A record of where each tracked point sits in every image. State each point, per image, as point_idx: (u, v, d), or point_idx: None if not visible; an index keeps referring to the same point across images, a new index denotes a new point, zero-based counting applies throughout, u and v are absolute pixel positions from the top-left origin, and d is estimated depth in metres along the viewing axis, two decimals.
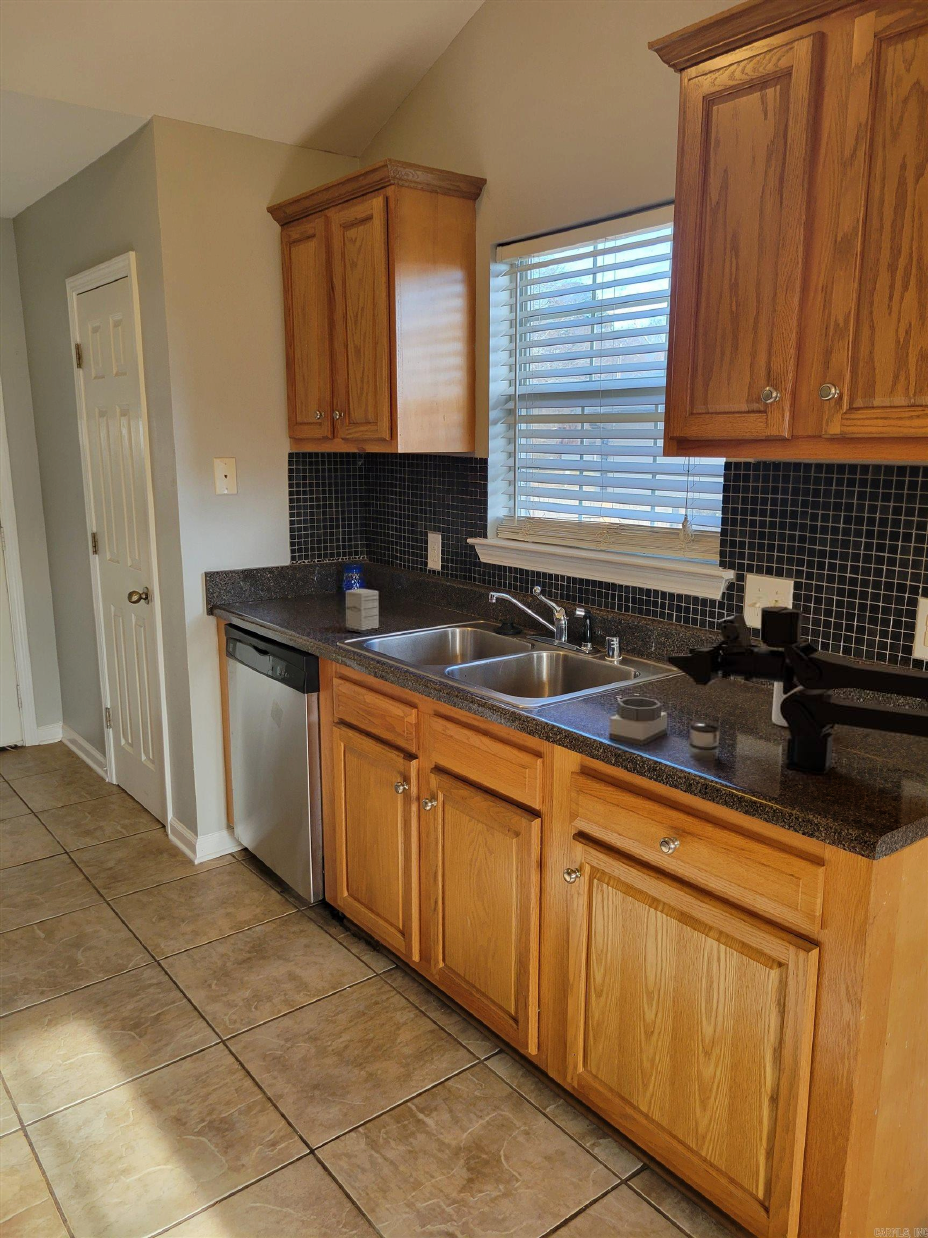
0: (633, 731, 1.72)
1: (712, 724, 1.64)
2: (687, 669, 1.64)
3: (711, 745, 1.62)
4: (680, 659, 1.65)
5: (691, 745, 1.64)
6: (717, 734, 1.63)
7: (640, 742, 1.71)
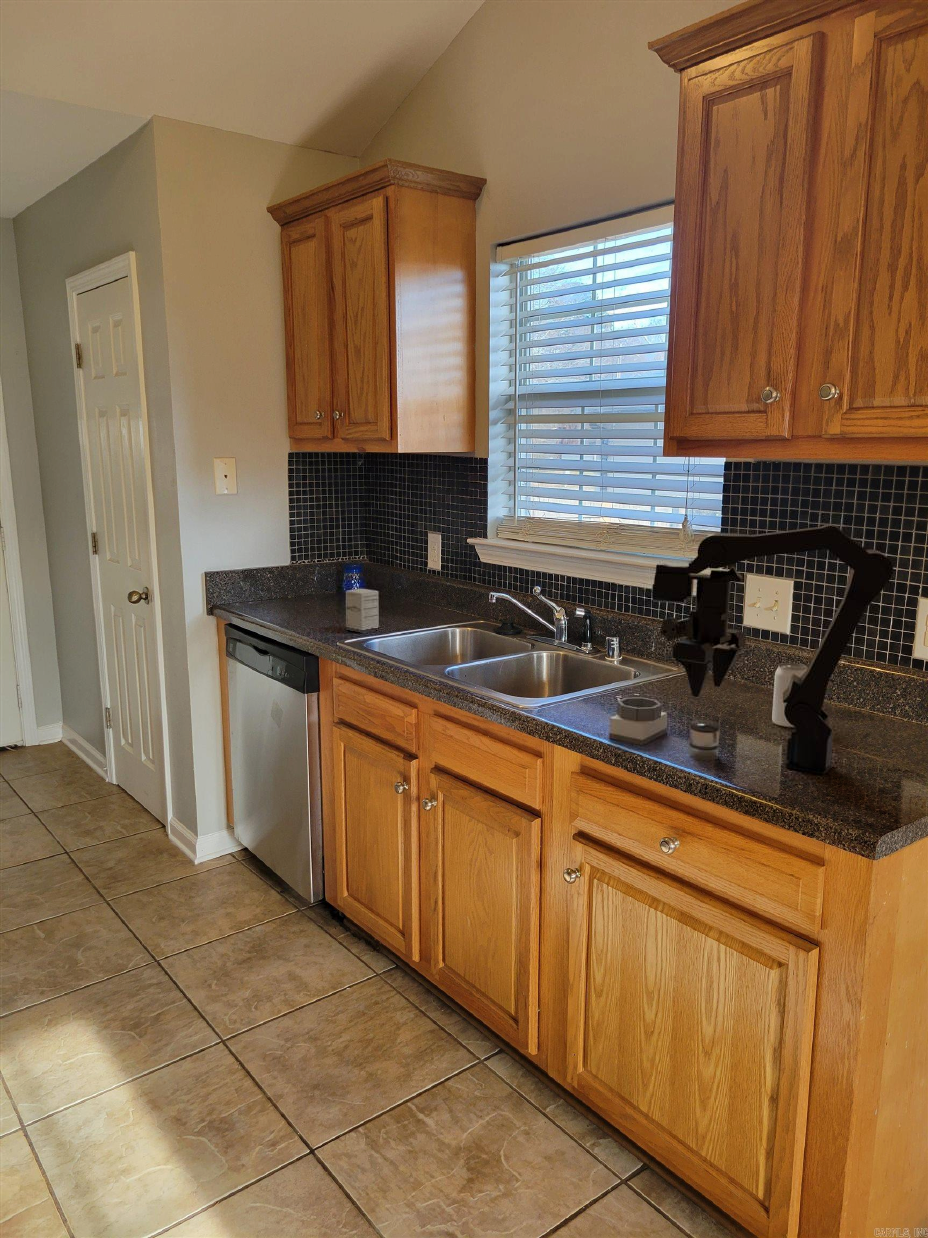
0: (633, 731, 1.72)
1: (712, 724, 1.63)
2: (700, 674, 1.57)
3: (711, 745, 1.62)
4: (691, 681, 1.58)
5: (691, 745, 1.64)
6: (717, 734, 1.63)
7: (640, 742, 1.71)
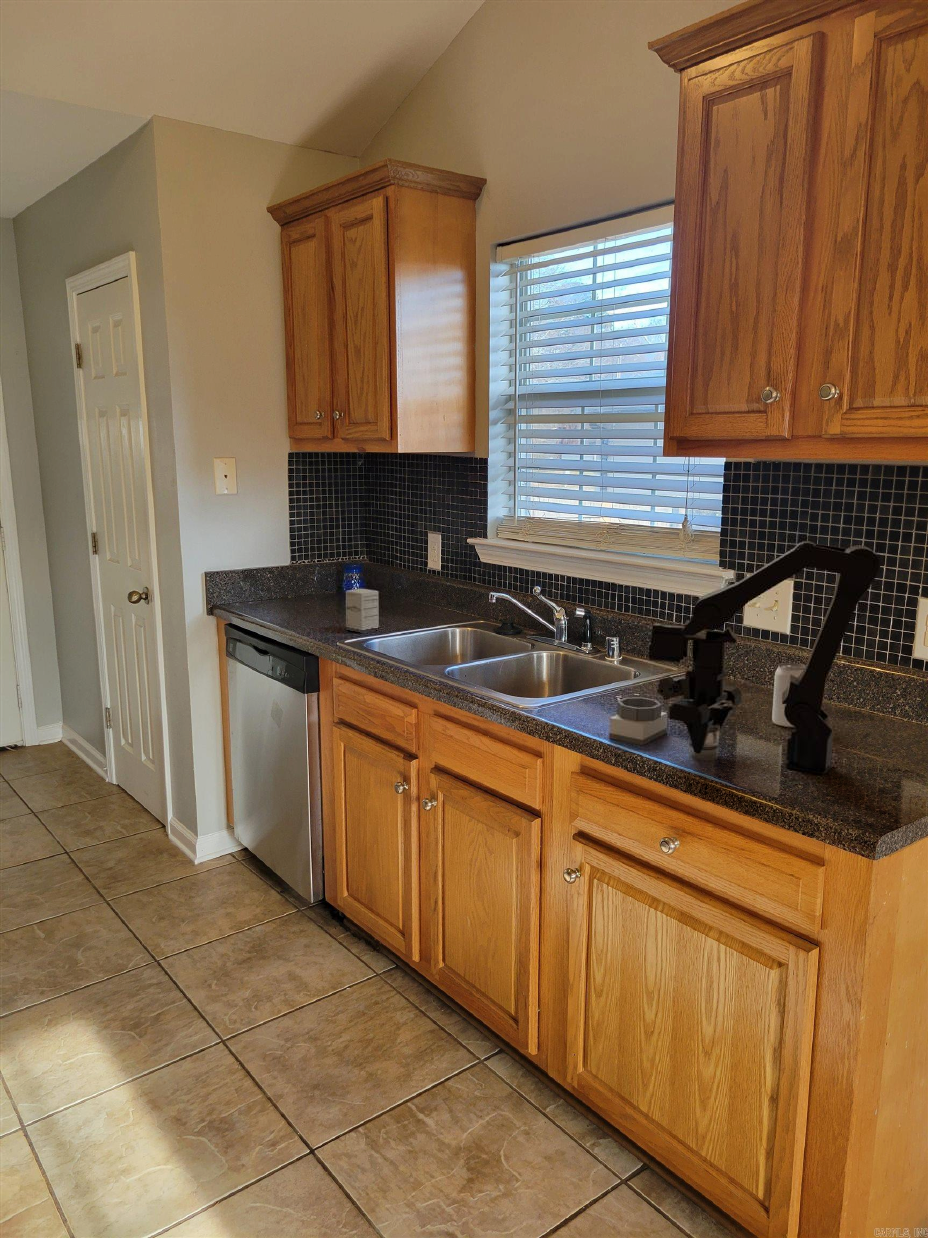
0: (633, 731, 1.72)
1: (712, 724, 1.63)
2: (701, 732, 1.60)
3: (711, 745, 1.62)
4: (693, 738, 1.62)
5: (691, 745, 1.64)
6: (717, 734, 1.63)
7: (640, 742, 1.71)
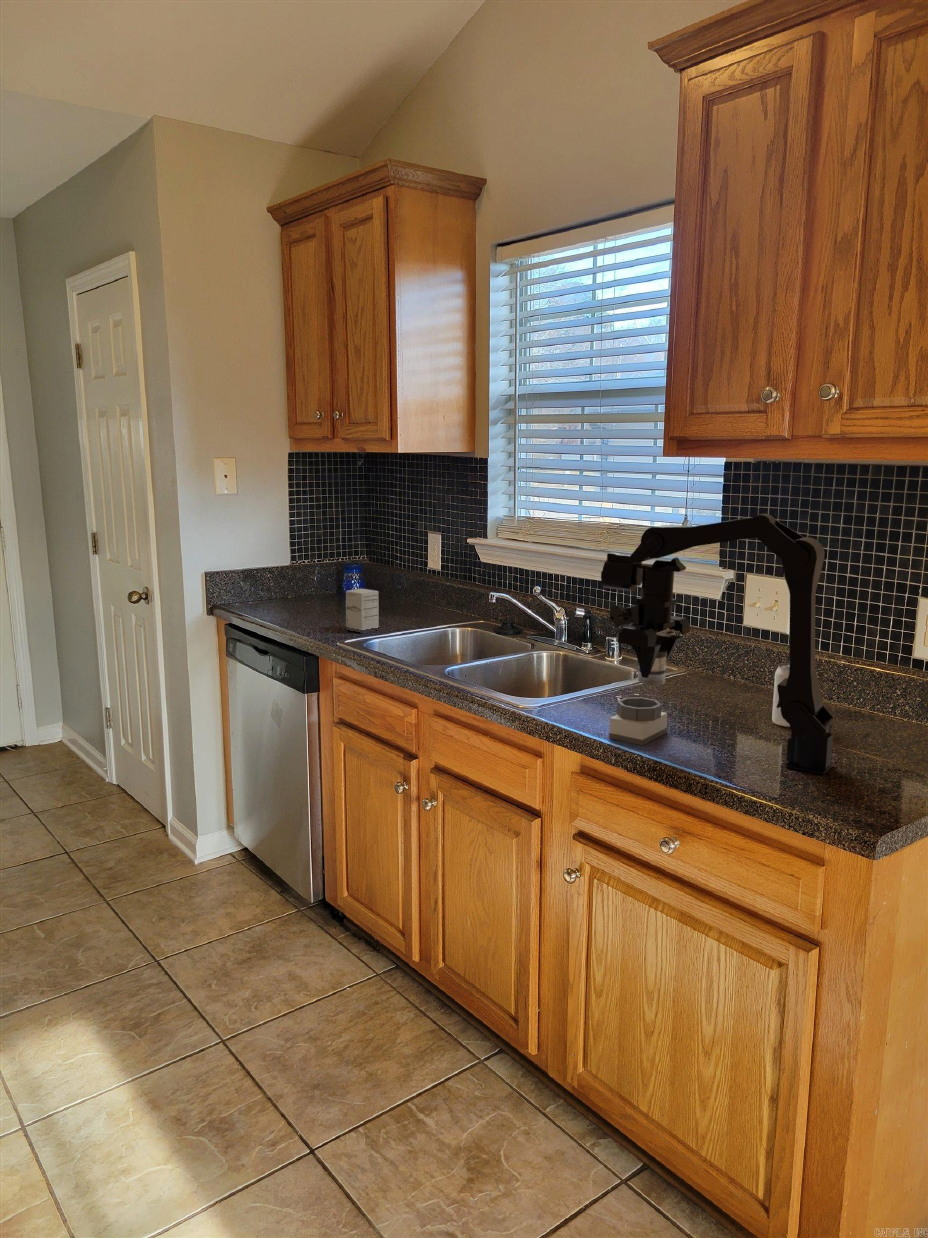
0: (633, 731, 1.72)
1: (659, 650, 1.71)
2: (648, 656, 1.67)
3: (658, 670, 1.70)
4: (641, 663, 1.69)
5: (639, 670, 1.71)
6: (664, 659, 1.70)
7: (640, 742, 1.71)
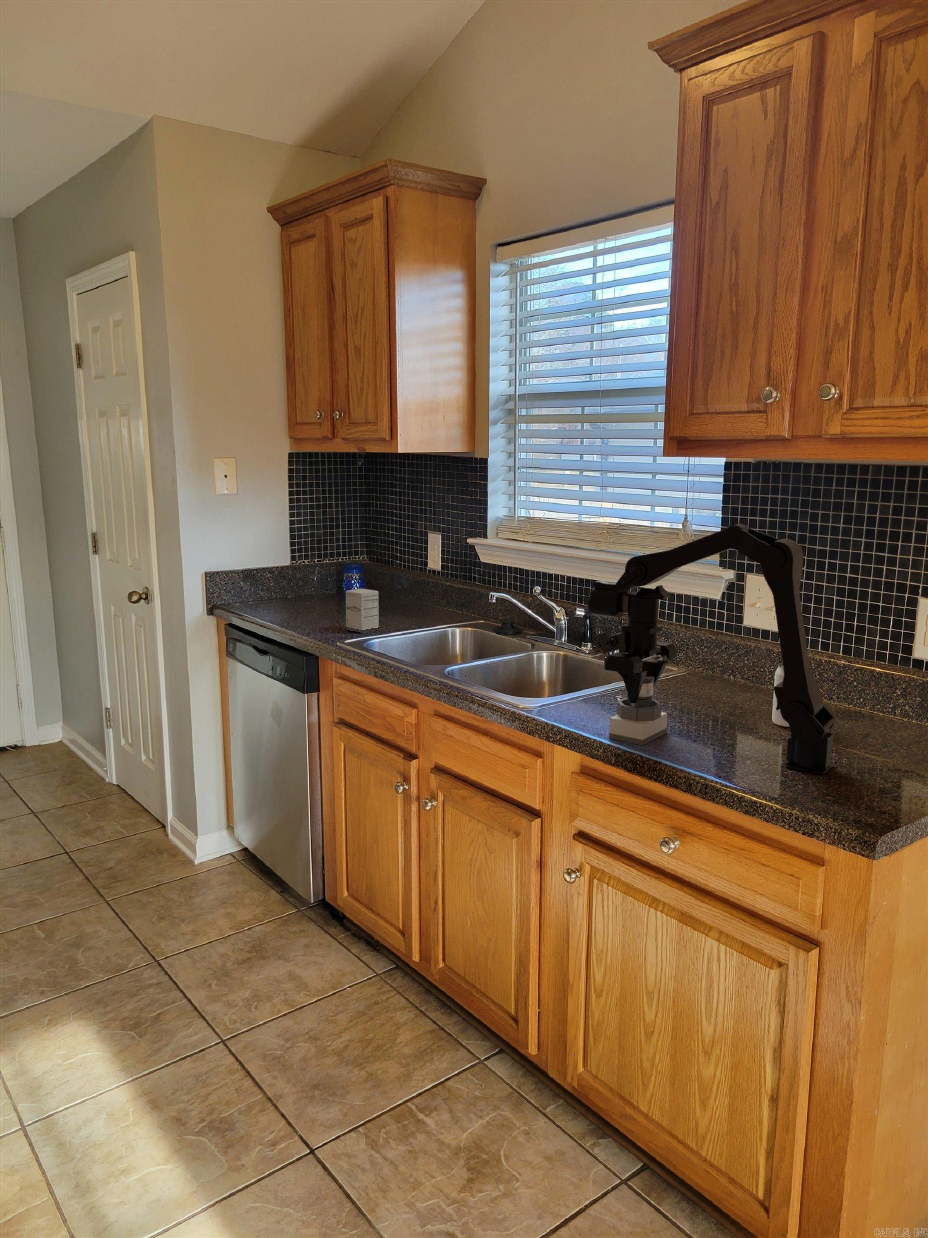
0: (633, 731, 1.72)
1: (646, 676, 1.74)
2: (635, 682, 1.71)
3: (645, 695, 1.73)
4: (628, 688, 1.72)
5: (627, 696, 1.75)
6: (651, 685, 1.73)
7: (640, 742, 1.71)
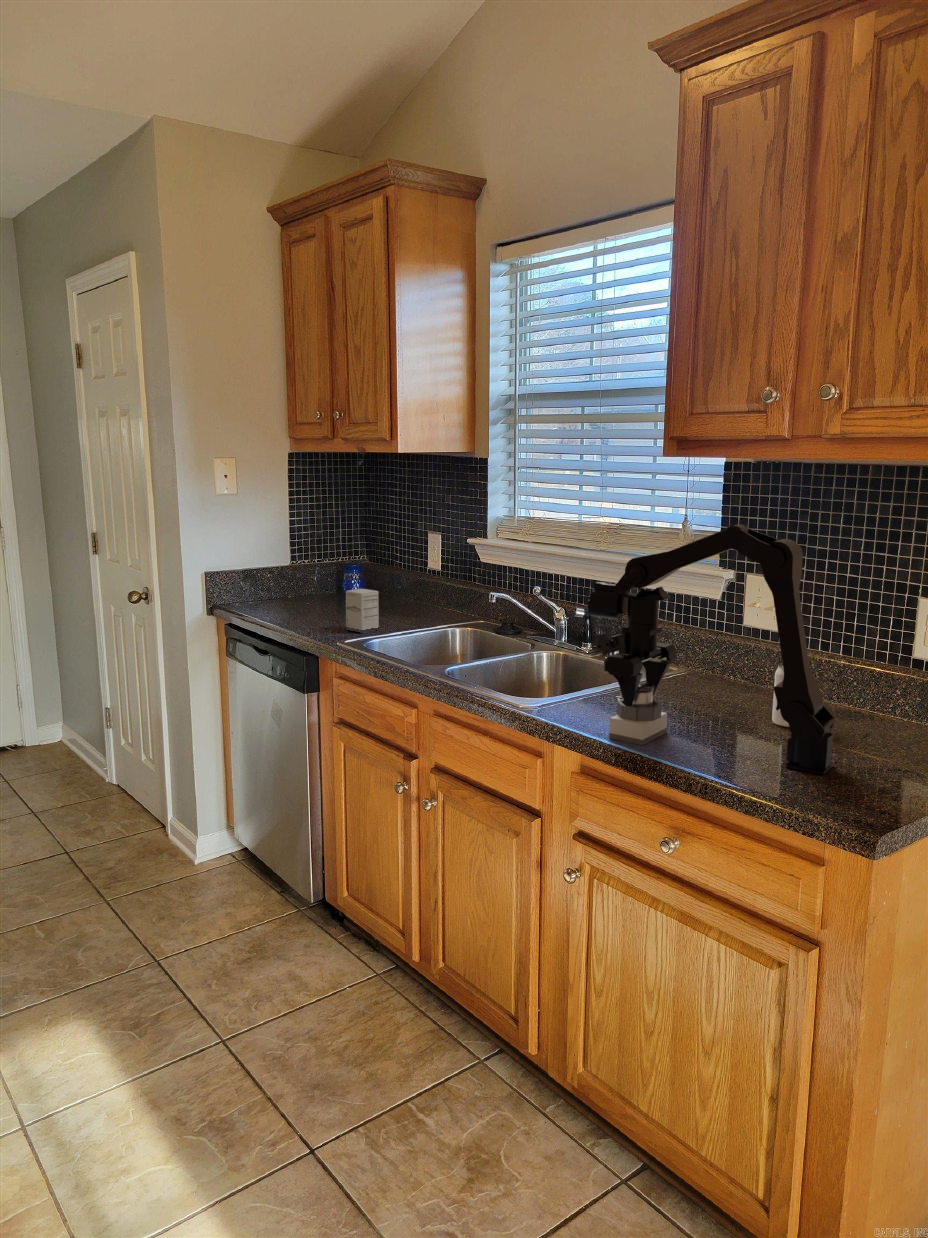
0: (633, 731, 1.72)
1: (646, 685, 1.75)
2: (631, 685, 1.70)
3: (645, 704, 1.73)
4: (624, 692, 1.71)
5: None
6: (651, 694, 1.74)
7: (640, 742, 1.71)
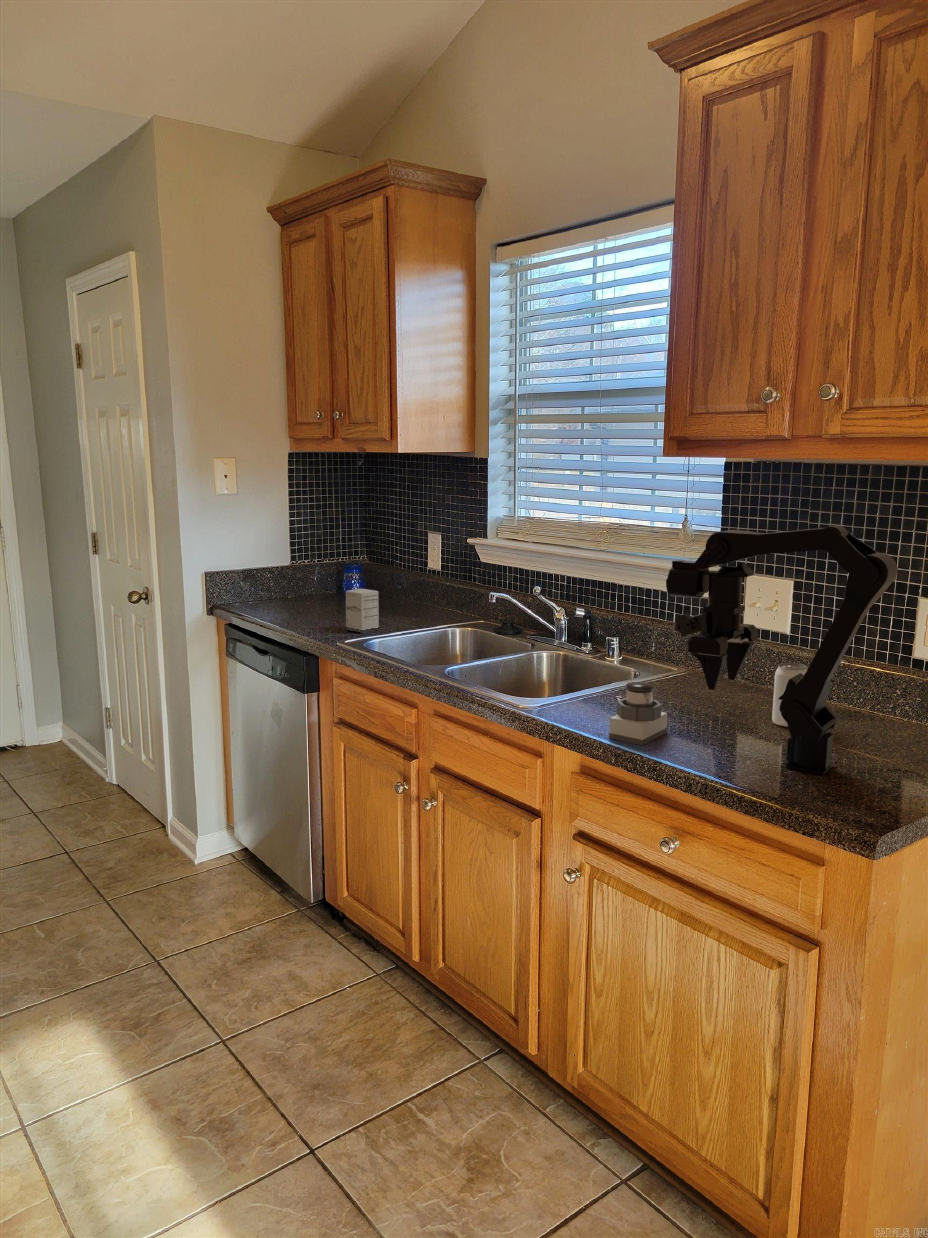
0: (633, 731, 1.72)
1: (646, 685, 1.75)
2: (715, 667, 1.61)
3: (645, 704, 1.73)
4: (707, 674, 1.63)
5: (627, 705, 1.75)
6: (651, 694, 1.74)
7: (640, 742, 1.71)
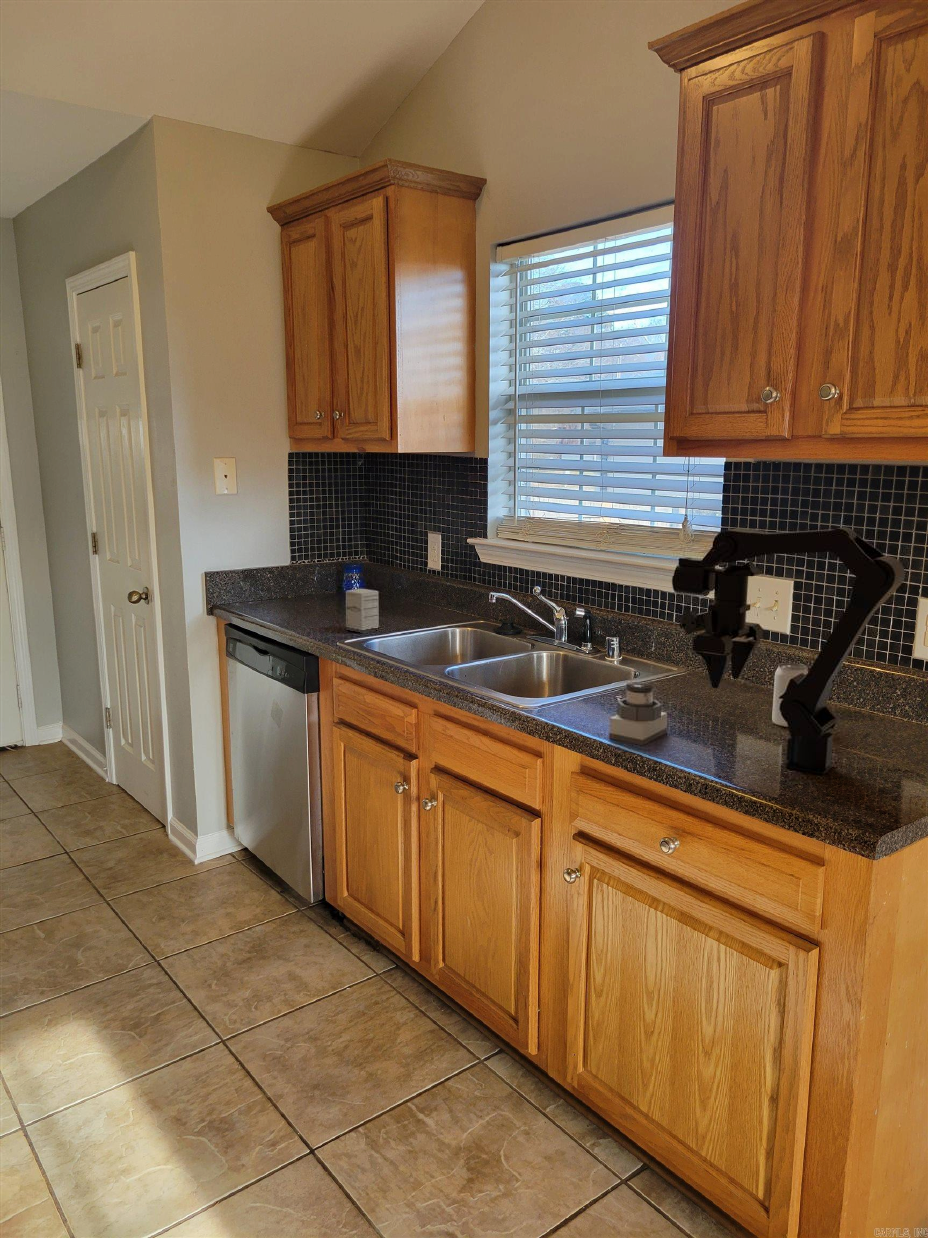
0: (633, 731, 1.72)
1: (646, 685, 1.75)
2: (719, 666, 1.61)
3: (645, 704, 1.73)
4: (711, 672, 1.62)
5: (627, 705, 1.75)
6: (651, 694, 1.74)
7: (640, 742, 1.71)
